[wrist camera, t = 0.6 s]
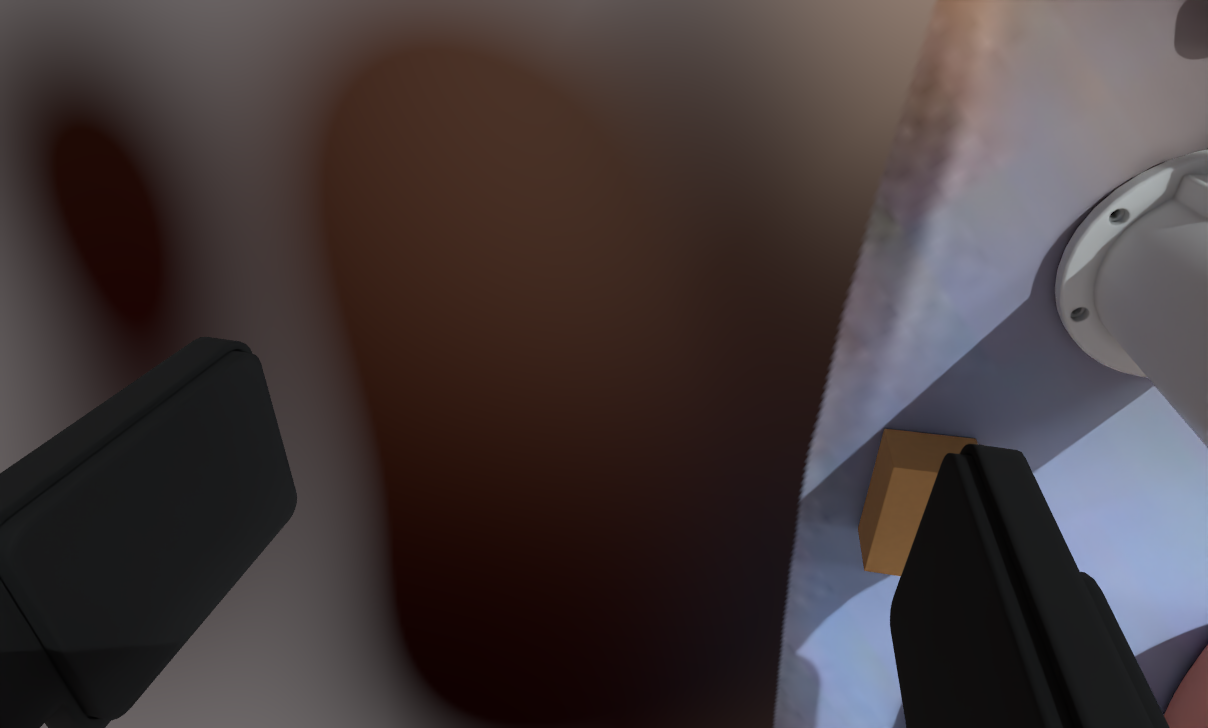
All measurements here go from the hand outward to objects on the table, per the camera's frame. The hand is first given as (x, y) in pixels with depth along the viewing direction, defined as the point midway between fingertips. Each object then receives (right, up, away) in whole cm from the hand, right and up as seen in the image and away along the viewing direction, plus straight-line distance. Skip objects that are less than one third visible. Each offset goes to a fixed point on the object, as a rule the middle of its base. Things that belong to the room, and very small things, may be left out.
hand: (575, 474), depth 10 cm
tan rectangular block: (+21, -7, +38) cm, 44 cm away
